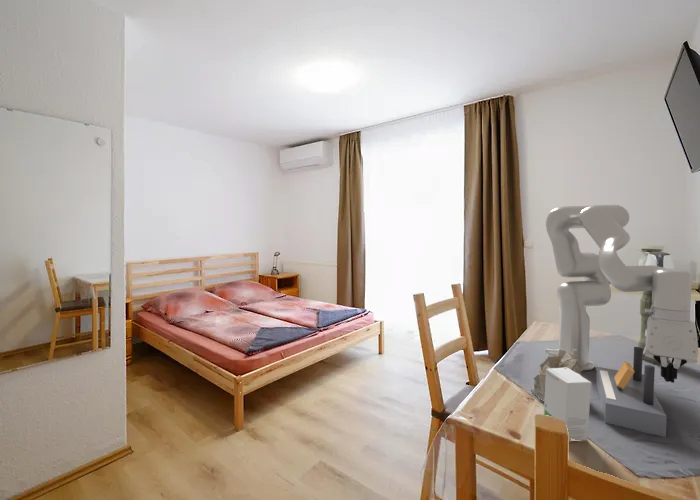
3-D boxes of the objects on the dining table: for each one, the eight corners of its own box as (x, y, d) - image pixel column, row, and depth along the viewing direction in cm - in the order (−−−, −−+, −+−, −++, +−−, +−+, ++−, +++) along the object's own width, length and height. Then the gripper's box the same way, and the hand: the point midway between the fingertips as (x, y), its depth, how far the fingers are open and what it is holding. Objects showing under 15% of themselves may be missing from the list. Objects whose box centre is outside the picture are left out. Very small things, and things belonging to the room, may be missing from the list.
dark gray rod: (644, 403, 87) (645, 367, 87) (642, 400, 89) (643, 364, 88) (654, 405, 86) (655, 368, 86) (652, 402, 88) (653, 365, 87)
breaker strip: (605, 422, 89) (605, 402, 88) (596, 382, 110) (596, 366, 110) (665, 437, 82) (666, 415, 82) (643, 391, 104) (644, 374, 103)
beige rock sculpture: (563, 377, 114) (562, 336, 112) (596, 405, 98) (595, 357, 96) (517, 380, 115) (515, 339, 113) (542, 408, 99) (540, 361, 97)
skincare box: (542, 423, 89) (543, 367, 88) (565, 421, 89) (566, 366, 88) (565, 444, 81) (566, 382, 79) (590, 441, 81) (592, 380, 80)
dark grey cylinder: (633, 380, 100) (634, 348, 99) (632, 377, 102) (633, 346, 101) (642, 382, 99) (643, 349, 98) (640, 379, 100) (642, 347, 100)
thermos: (667, 357, 129) (671, 268, 126) (670, 367, 120) (675, 272, 117) (637, 352, 135) (640, 267, 132) (638, 361, 126) (641, 270, 123)
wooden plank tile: (615, 388, 95) (627, 369, 93) (612, 379, 100) (624, 360, 98) (622, 391, 94) (634, 372, 92) (618, 382, 99) (630, 363, 97)
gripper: (637, 314, 90) (635, 379, 91) (715, 321, 82) (712, 392, 83) (632, 308, 97) (630, 369, 98) (704, 314, 89) (702, 380, 90)
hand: (668, 380), depth 90 cm, fingers closed
